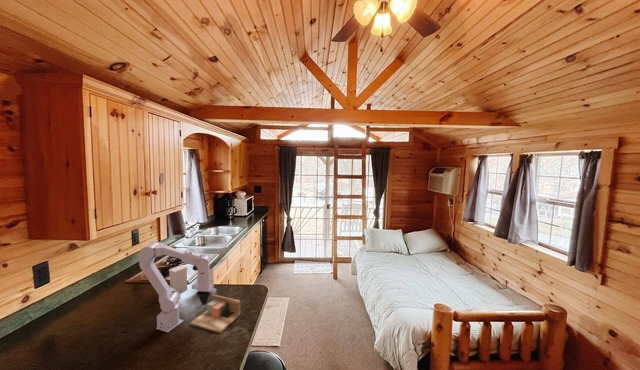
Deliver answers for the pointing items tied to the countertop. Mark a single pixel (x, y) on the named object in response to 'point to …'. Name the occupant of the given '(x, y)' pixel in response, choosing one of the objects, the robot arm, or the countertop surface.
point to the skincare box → (178, 278)
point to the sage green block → (211, 305)
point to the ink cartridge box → (210, 278)
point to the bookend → (226, 311)
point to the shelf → (219, 323)
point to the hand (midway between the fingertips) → (204, 303)
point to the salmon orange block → (217, 309)
